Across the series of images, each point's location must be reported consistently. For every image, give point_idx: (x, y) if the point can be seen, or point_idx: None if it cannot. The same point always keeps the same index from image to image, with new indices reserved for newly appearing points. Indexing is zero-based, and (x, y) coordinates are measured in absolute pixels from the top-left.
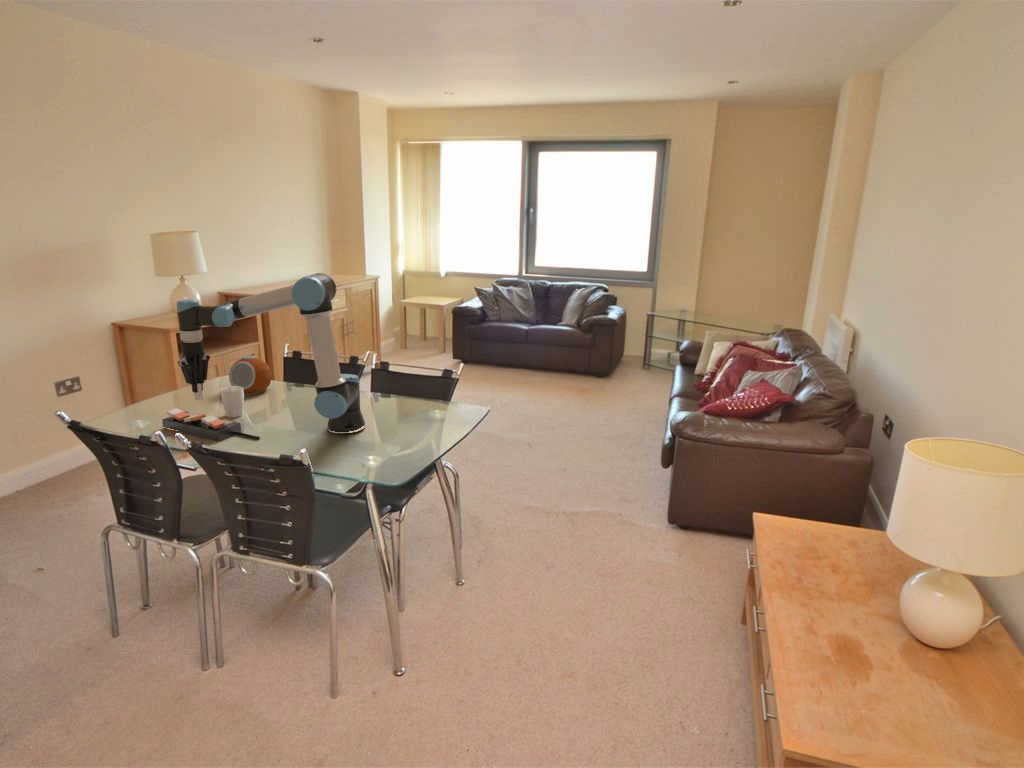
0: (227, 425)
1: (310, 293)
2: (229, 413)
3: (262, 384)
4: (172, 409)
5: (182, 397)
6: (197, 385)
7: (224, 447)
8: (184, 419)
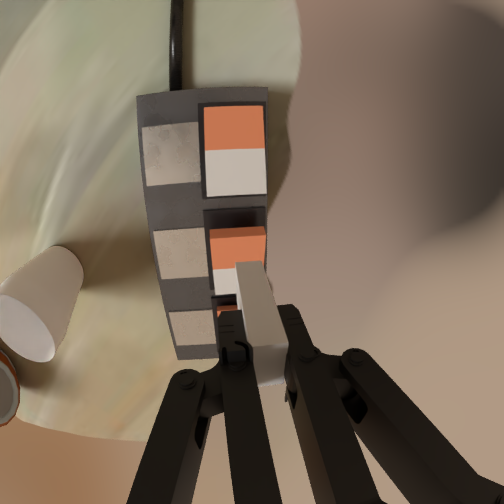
0: (188, 114)
1: None
2: (75, 269)
3: None
4: None
5: (111, 424)
6: (285, 340)
7: (293, 36)
8: None
